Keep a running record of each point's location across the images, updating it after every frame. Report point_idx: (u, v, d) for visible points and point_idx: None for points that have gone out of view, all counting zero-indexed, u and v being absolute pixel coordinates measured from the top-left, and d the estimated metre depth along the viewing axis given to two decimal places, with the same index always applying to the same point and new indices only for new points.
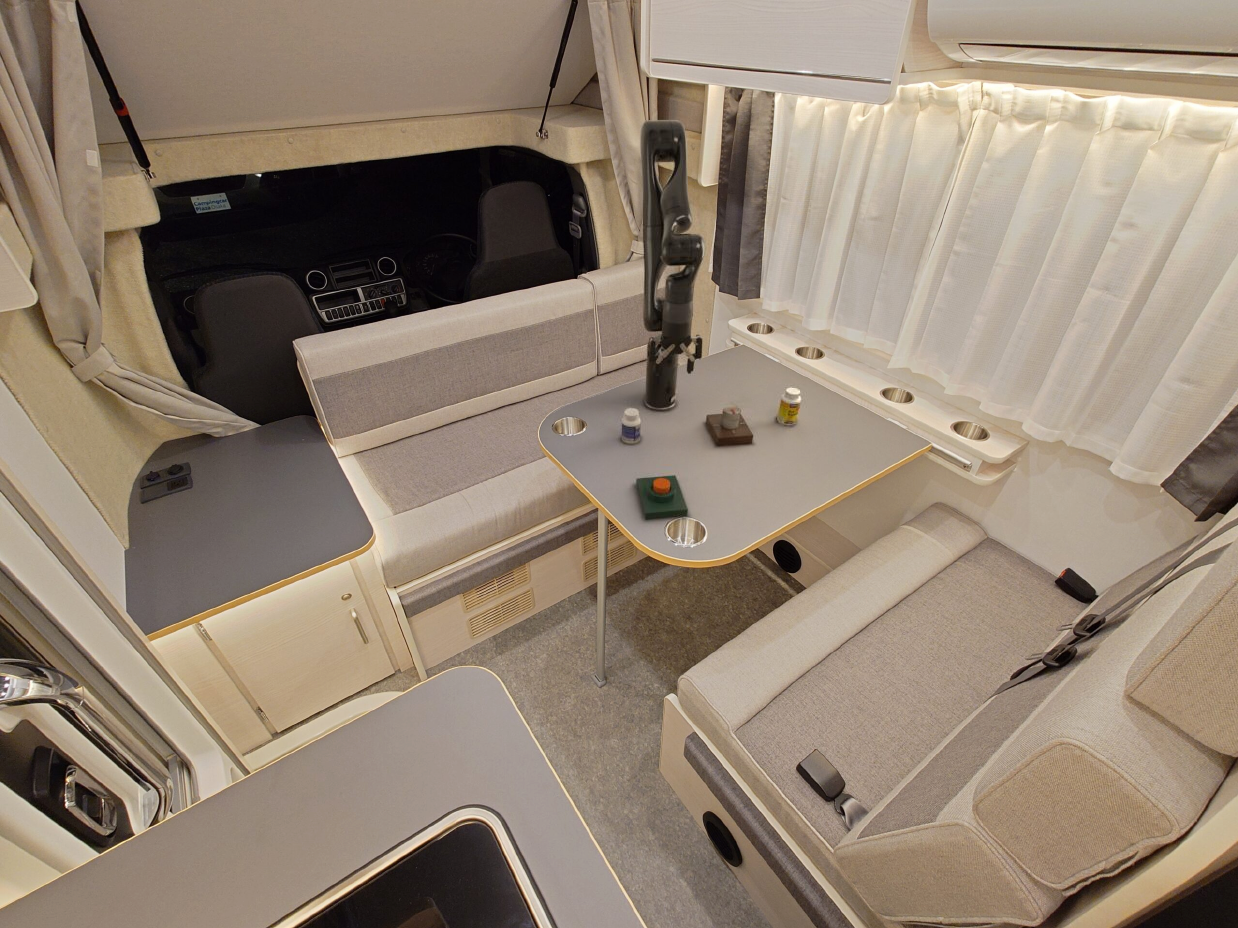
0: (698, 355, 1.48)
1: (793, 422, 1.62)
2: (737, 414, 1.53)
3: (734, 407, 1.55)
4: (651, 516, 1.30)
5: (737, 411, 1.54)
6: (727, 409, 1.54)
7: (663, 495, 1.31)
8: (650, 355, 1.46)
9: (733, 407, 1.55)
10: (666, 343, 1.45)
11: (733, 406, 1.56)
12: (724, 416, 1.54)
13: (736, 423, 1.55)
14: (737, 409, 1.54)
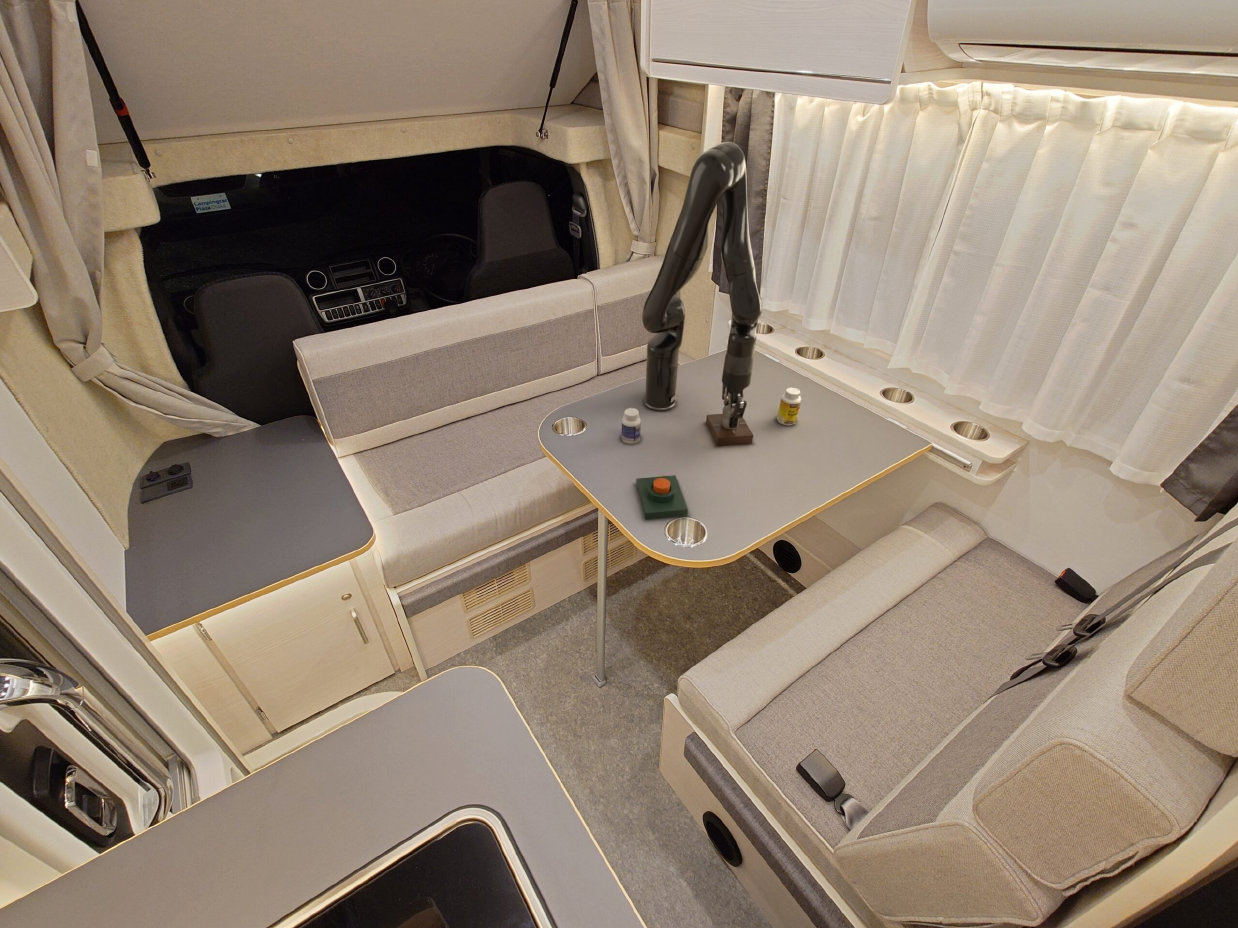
0: (733, 414, 1.50)
1: (793, 422, 1.62)
2: None
3: None
4: (651, 516, 1.30)
5: None
6: (727, 409, 1.54)
7: (663, 495, 1.31)
8: (722, 393, 1.58)
9: None
10: None
11: None
12: (724, 416, 1.54)
13: None
14: None
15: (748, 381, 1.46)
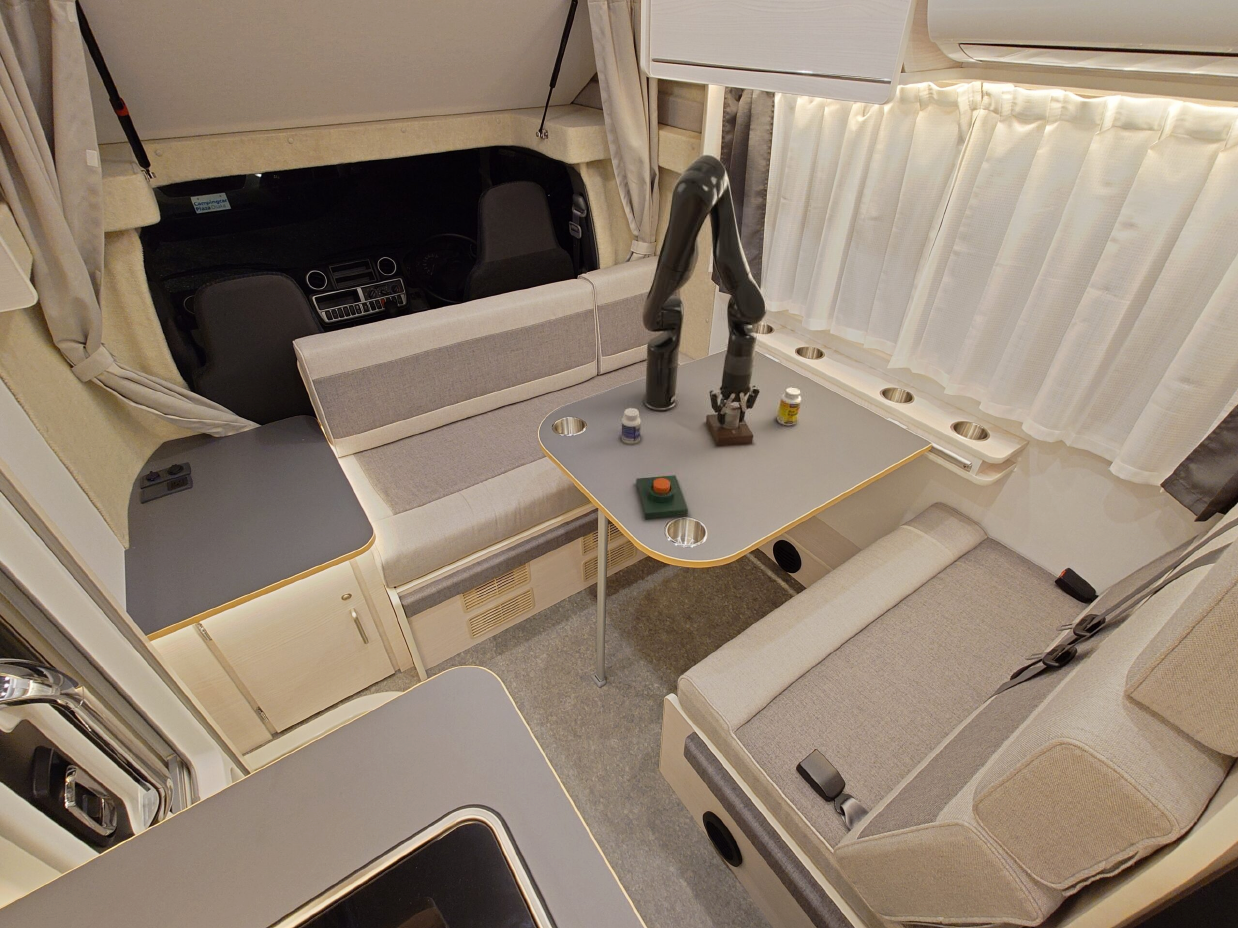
0: (750, 405, 1.53)
1: (793, 422, 1.62)
2: None
3: None
4: (651, 516, 1.30)
5: (734, 406, 1.56)
6: (733, 411, 1.54)
7: (663, 495, 1.31)
8: (714, 407, 1.51)
9: (727, 408, 1.55)
10: (727, 392, 1.49)
11: None
12: (737, 417, 1.54)
13: None
14: (730, 406, 1.56)
15: None
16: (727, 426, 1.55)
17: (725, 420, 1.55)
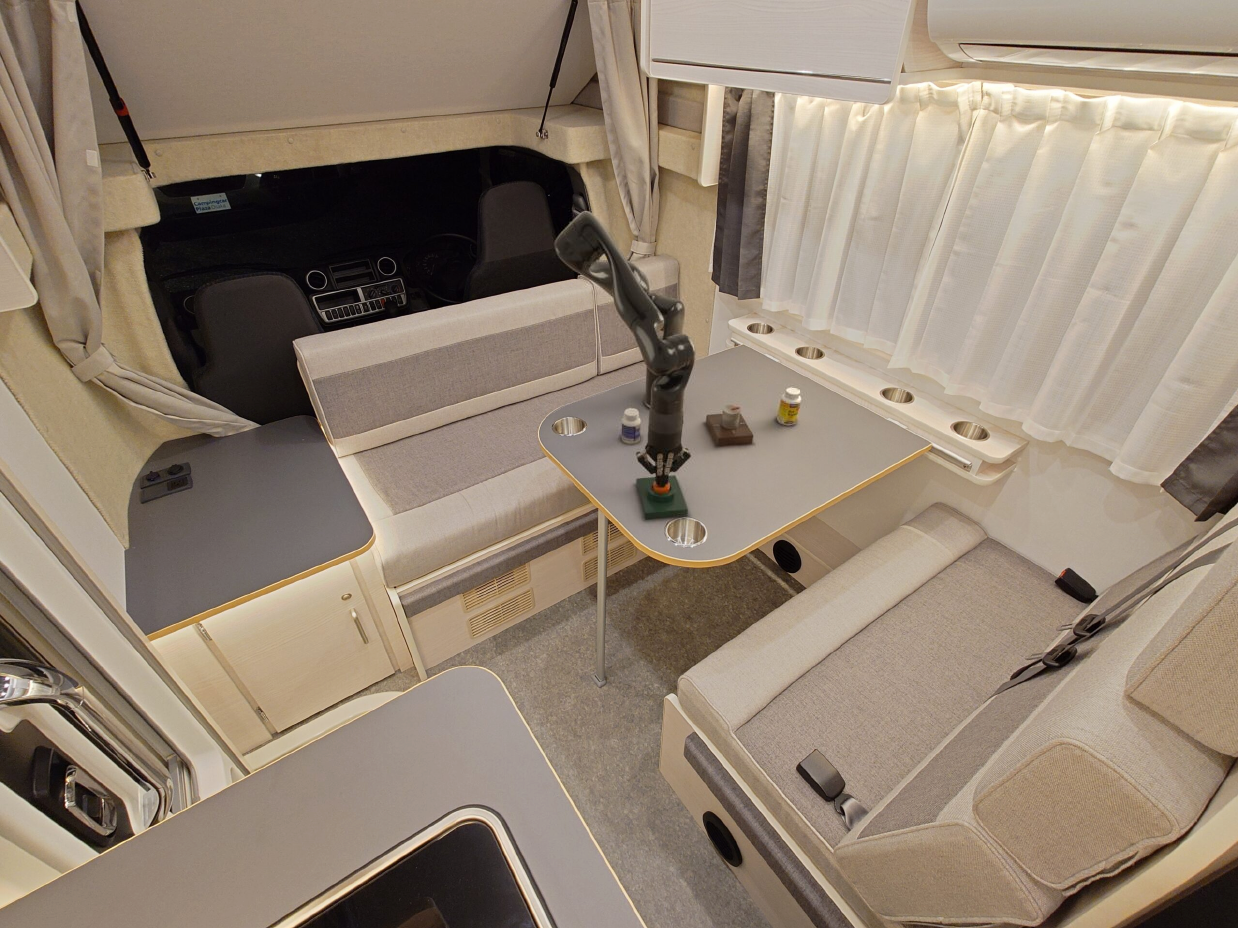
0: (673, 468, 1.29)
1: (793, 422, 1.62)
2: None
3: (727, 407, 1.55)
4: (651, 516, 1.30)
5: (734, 406, 1.56)
6: (733, 411, 1.54)
7: (663, 495, 1.31)
8: (647, 469, 1.28)
9: (727, 408, 1.55)
10: (653, 452, 1.25)
11: (726, 408, 1.55)
12: (737, 417, 1.54)
13: None
14: (730, 406, 1.56)
15: None
16: (727, 426, 1.55)
17: (725, 420, 1.55)
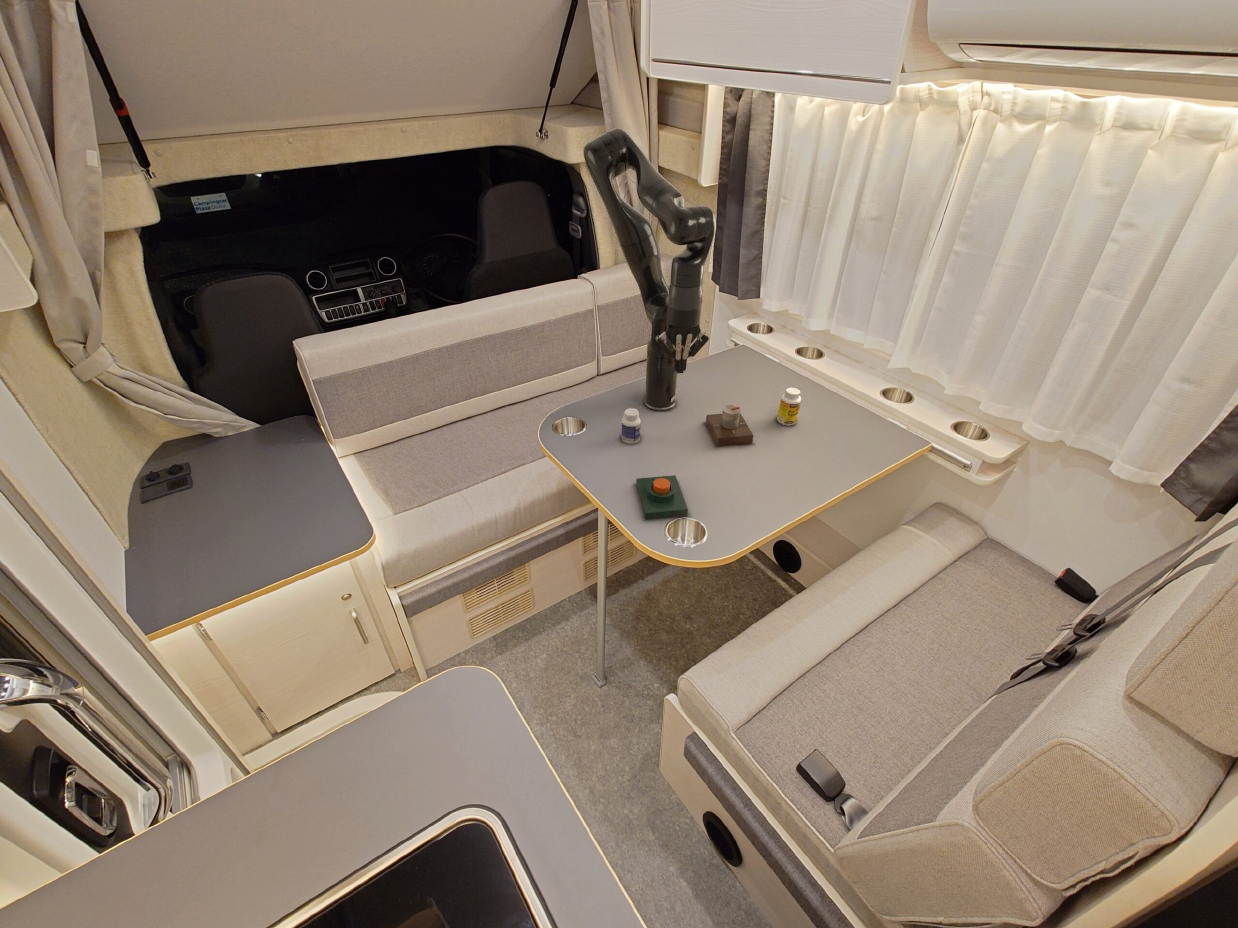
0: (691, 352, 1.32)
1: (793, 422, 1.62)
2: None
3: (727, 407, 1.55)
4: (651, 516, 1.30)
5: (734, 406, 1.56)
6: (733, 411, 1.54)
7: (663, 495, 1.31)
8: (666, 352, 1.31)
9: (727, 408, 1.55)
10: (672, 333, 1.28)
11: (726, 408, 1.55)
12: (737, 417, 1.54)
13: None
14: (730, 406, 1.56)
15: None
16: (727, 426, 1.55)
17: (725, 420, 1.55)
